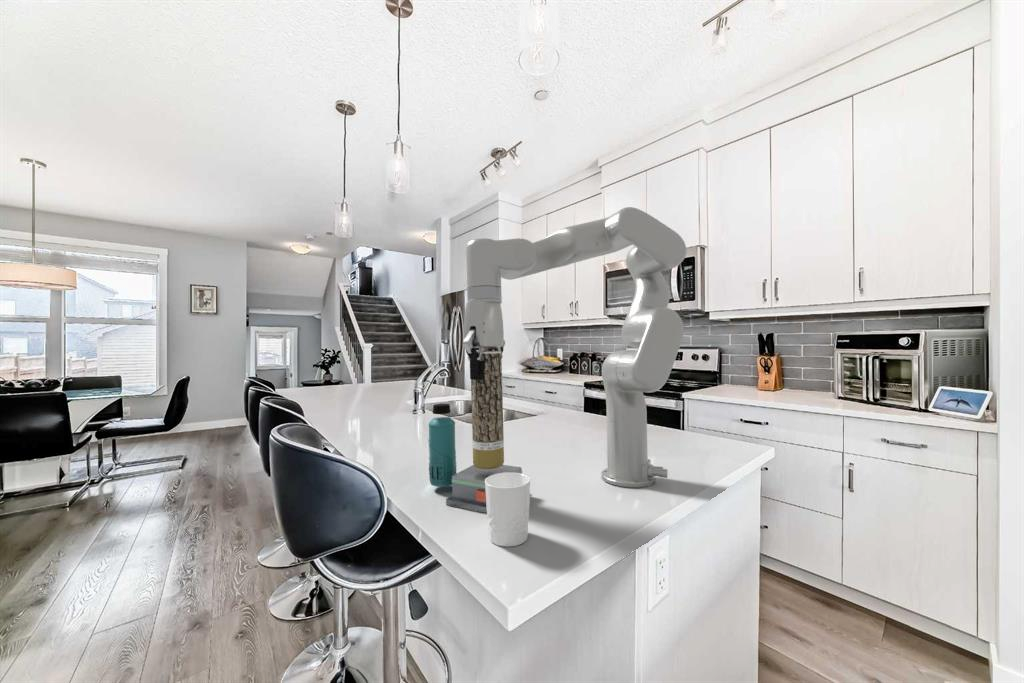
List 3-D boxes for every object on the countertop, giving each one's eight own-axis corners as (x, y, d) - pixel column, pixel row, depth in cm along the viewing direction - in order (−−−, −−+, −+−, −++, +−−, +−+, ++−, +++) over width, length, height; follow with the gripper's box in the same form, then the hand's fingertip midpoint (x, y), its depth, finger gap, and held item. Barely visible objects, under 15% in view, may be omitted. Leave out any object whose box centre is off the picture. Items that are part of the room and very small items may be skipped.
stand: (527, 493, 87) (527, 466, 87) (499, 516, 76) (499, 485, 76) (478, 485, 93) (478, 460, 93) (446, 505, 82) (445, 476, 82)
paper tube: (510, 463, 86) (507, 350, 86) (493, 472, 80) (490, 351, 80) (484, 459, 89) (482, 351, 90) (466, 467, 84) (463, 351, 84)
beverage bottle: (460, 483, 94) (458, 401, 95) (453, 494, 88) (451, 405, 88) (433, 483, 95) (432, 401, 95) (425, 493, 88) (423, 405, 89)
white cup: (476, 537, 67) (475, 480, 68) (509, 522, 73) (508, 469, 73) (508, 554, 62) (506, 491, 62) (540, 536, 67) (539, 479, 67)
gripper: (489, 301, 95) (491, 374, 94) (446, 294, 79) (448, 381, 79) (517, 299, 91) (519, 375, 91) (477, 290, 76) (480, 382, 76)
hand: (486, 377), depth 85 cm, fingers closed on paper tube, 6 cm apart
